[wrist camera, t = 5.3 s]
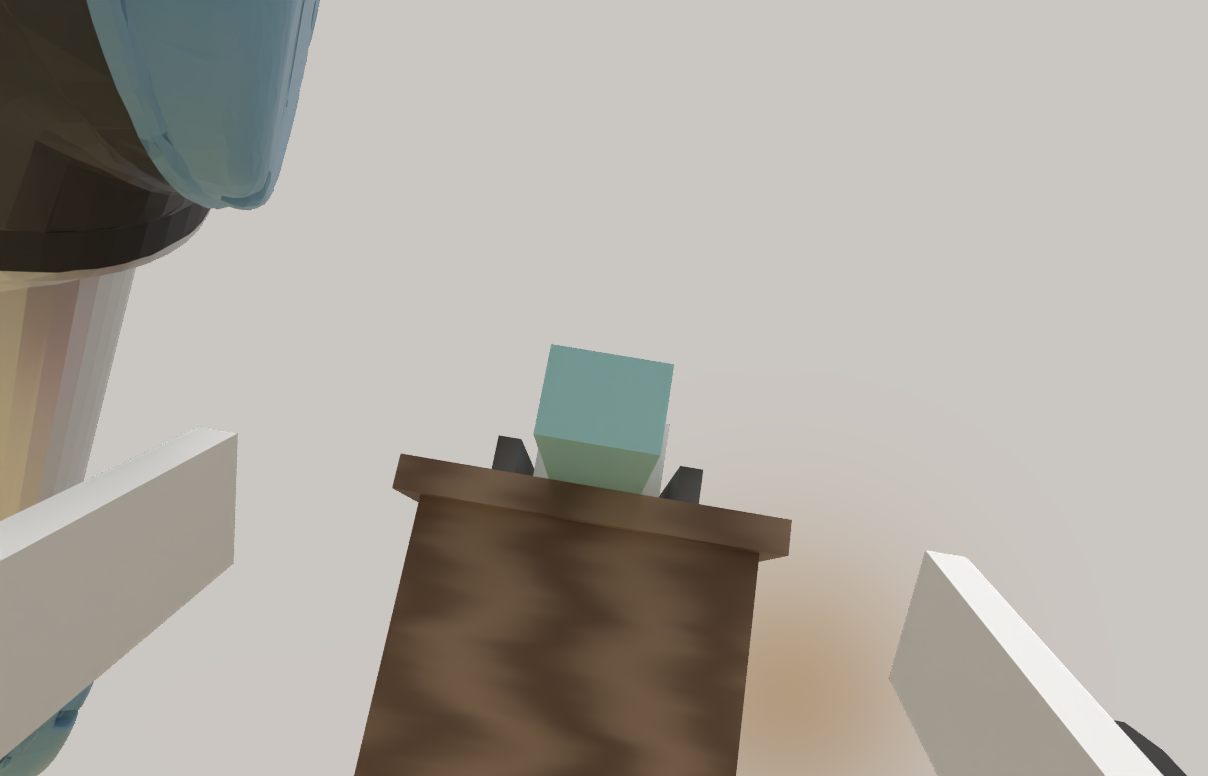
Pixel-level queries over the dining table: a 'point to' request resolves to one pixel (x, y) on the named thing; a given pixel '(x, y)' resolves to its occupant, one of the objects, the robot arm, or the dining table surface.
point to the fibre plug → (603, 420)
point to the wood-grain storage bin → (565, 627)
